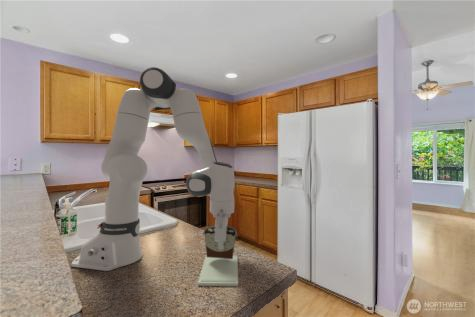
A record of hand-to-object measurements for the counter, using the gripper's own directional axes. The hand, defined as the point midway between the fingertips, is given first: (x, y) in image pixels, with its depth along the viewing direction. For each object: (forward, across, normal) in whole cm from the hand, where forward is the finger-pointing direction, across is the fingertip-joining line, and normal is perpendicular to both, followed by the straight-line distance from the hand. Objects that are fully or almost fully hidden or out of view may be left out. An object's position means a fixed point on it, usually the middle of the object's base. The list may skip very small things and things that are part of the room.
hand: (221, 245), depth 81 cm
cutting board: (+6, -6, 0) cm, 8 cm away
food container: (+4, +1, 0) cm, 4 cm away
